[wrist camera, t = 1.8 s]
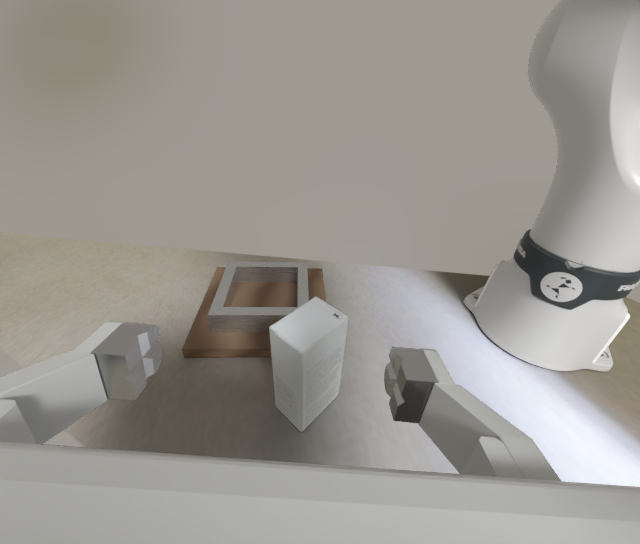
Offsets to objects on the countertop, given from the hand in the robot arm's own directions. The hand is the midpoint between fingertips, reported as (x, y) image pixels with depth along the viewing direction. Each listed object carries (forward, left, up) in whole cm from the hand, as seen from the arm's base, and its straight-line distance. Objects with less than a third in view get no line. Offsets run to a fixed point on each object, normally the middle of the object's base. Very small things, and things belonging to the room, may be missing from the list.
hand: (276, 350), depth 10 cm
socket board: (-15, -22, -21) cm, 34 cm away
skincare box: (-9, -7, -21) cm, 24 cm away
